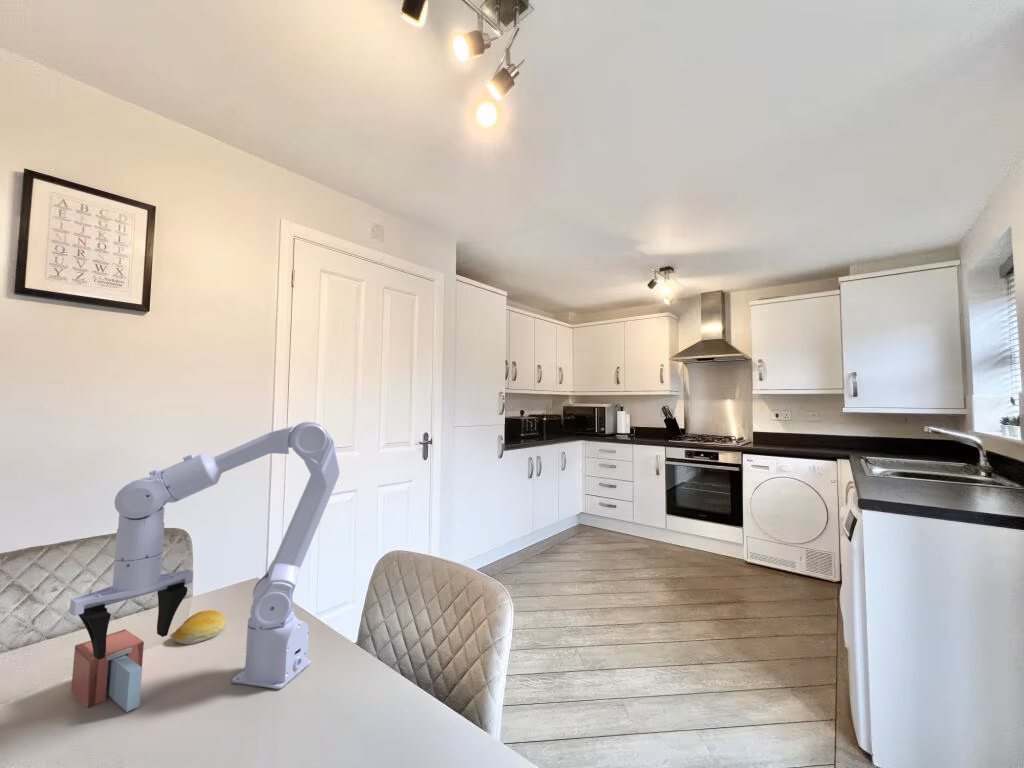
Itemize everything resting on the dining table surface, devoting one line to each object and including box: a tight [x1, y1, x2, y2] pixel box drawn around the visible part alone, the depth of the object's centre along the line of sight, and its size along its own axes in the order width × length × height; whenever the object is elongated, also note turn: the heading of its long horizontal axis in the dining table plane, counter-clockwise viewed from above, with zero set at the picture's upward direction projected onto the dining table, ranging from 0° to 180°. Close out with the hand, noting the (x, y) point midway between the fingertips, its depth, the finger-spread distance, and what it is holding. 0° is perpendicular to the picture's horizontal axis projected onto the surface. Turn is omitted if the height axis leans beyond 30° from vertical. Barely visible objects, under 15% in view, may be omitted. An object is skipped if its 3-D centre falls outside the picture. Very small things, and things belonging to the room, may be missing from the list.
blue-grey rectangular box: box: [106, 655, 143, 713], centre depth 68 cm, size 13×2×6 cm, turn 59°
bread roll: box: [173, 609, 227, 645], centre depth 88 cm, size 8×9×4 cm
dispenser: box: [70, 629, 145, 708], centre depth 70 cm, size 8×6×7 cm
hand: (132, 645), depth 66 cm, fingers open, 7 cm apart
